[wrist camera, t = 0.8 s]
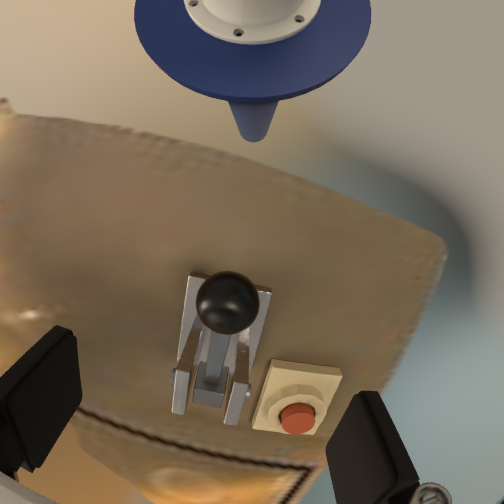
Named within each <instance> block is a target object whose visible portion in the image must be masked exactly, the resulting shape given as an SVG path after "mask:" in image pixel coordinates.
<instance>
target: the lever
mask: <svg viewBox="0 0 504 504" xmlns="http://www.w3.org/2000/svg"><path fill="white" fill-rule="evenodd" d="M259 307H260V299H259V294H258V292H257V289H256V287H255V286H254V284H253V283H252V282H251V281H250V280H249V279H248V278H247V277H245V276H244V275H242V274H240V273H237V272H233V271H223V272H218V273H215V274H213V275H211V276H210V277H208V278H207V279H206V280H205V281H204V282H203V283H202V285H201V286H200V288H199V290H198V292H197V296H196V310H197V313H198V316H199V318H200V319H201V321H202V322H203V324H204V325H205V326H206V327H208V328H209V329H210V330H212V331H211V337H210V343H209V349H208V355H207V362H203V361H200V363H199V368H198V372H197V377H196V381H195V386H194V393H193V402H194V403H199V404H203V405H208V406H213V407H218V408H221V405H222V402H223V399H224V396H225V390H226V384H227V378H228V372H229V367H227V366H224V362H225V358H226V354H227V350H228V346H229V342H230V338H231V335H232V334H237V333H240V332H242V331H244V330H246V329H247V328H248V327H249V326H251V324H252V323H253V322H254V321H255V319H256V317H257V315H258V312H259Z"/></svg>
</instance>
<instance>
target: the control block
mask: <svg viewBox="0 0 504 504" xmlns="http://www.w3.org/2000/svg"><path fill="white" fill-rule="evenodd" d="M342 377H343V376H342V373H341V371H340V368H336V367H327V366H319V365H311V364H304V363H297V362H290V361H284V360H277V359H272V360H271V363H270V367H269V370H268V373H267V376H266V379H265V382H264V385H263V389H262V392H261V395H260V398H259V401H258V404H257V407H256V410H255V413H254V416H253V419H252V429H259V430H267V431H275V432H281V433H286V434H290V433H287V432H286V431H284V429H283V428H282V422H281V412H282V410H283V409H284V408H285V407H286V406H288V405H290V404H293V403H306V404H308V405H310V406H311V407H312V409H313V413H314V417H315V425H314V426H313V428H312V429H311V430H309V431H308V432H305V433H302V434H310V435H314V434H315V432H316V430H317V428H318V426H319V424H321V423H322V421H323V420H324V418H325V416H326V414H327V408H328V406H329V404H330V402H331V400H332V398H333V396H334V394H335V392H336V390H337V388H338V385H339V383H340V381H341V379H342Z"/></svg>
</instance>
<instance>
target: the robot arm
mask: <svg viewBox="0 0 504 504" xmlns="http://www.w3.org/2000/svg"><path fill="white" fill-rule="evenodd" d="M184 3H185V6H186V9H187V11H188V13H189V15H190V17H191V18H192V20H193V21H194V22H195V24H196V25H197V26H199V27H200V28H201V29H202V30H203V31H205V32H206V33H208V34H210V35H212V36H214V37H216V38H218V39H221V40H224V41H227V42H232V43H237V44H248V45H258V44H269V43H273V42H277V41H281V40H284V39H286V38H289V37H291V36H294V35H295V34H297V33H298V32H300V31H302V30H303V29H304V28H305V27H306V26H308V25H309V24H310V23H311V21H312V20H313V18H314V17H315V16H316V14H317V11H318V9H319V7H320V3H321V0H184ZM193 6H194V7H193ZM296 21H299V22H301V23H298V22H296ZM238 34H240V35H242V36H238V37H237V35H238ZM81 400H82V388H81V380H80V371H79V361H78V350H77V339H76V337H75V336H73V332H72V331H71V330H69V329H66V328H64V327H61V326H58V325H56V326H54V327H53V328H52V329H51V330H50V331H49V332H48V333H46V334H45V335H44V336H43V337H42V338H41V339H40V340H39V341H38V342H37V343H36V344H35V345H33V346H32V347H31V348H30V349H29V350H28V351H27V352H26V353H25V354H24V355H23V356H22V357H21V358H20V359H19V360H18V361H17V362H16V363H15V364H14V365H13V366H12V367H11V368H10V369H9V370H8V371H6V372H5V373H4V374H3V375H2V376H1V377H0V504H59V503H57V502H55V501H53V500H51V499H49V498H47V497H45V496H43V495H41V494H39V493H37V492H35V491H33V490H31V489H29V488H27V487H25V486H24V485H22V484H20V483H19V479H18V475H17V471H18V469H19V468H20V467H22V468H24V469H26V470H27V471H29V472H31V473H33V471H34V470H35V468H36V467H37V468H40V467H41V465H42V464H43V462H44V461H45V459H46V457H47V456H48V454H49V452H50V451H51V449H52V447H53V446H54V444H55V443H56V441H57V439H58V438H59V436H60V434H61V433H62V431H63V430H64V428H65V426H66V425H67V423H68V422H69V420H70V419H71V417H72V415H73V414H74V412H75V411H76V409H77V408H78V406H79V405H80V403H81ZM326 457H327V461H328V466H329V470H330V475H331V480H332V484H333V489H334V493H335V498H336V503H337V504H452V498H451V495H450V493H449V492H448V490H447V489H446V488H444V487H443V486H441V485H440V484H437V483H433V482H431V483H430V482H427V483H424V484H422V485H420V483H419V481H418V480H419V477H418V475H417V472H416V470H415V468H414V466H413V463H412V461H411V459H410V457H409V455H408V453H407V450H406V448H405V446H404V444H403V442H402V440H401V438H400V436H399V433H398V431H397V430H396V427H395V425H394V423H393V421H392V419H391V417H390V415H389V413H388V411H387V409H386V407H385V405H384V403H383V401H382V399H381V397H380V395H379V393H378V392H377V391H360V392H359V393H358V394H355V395H354V396H353V398H352V400H351V402H350V404H349V406H348V408H347V409H346V411H345V413H344V415H343V417H342V419H341V421H340V422H339V424H338V426H337V428H336V429H335V431H334V433H333V435H332V436H331V438H330V440H329V442H328V443H327V446H326Z"/></svg>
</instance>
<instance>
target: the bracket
mask: <svg viewBox="0 0 504 504" xmlns="http://www.w3.org/2000/svg"><path fill="white" fill-rule="evenodd" d="M208 277H210V276H208V275H203V274H199V273H194V272H191V273H190V275H189V278H188V284H187V290H186V297H185V304H184V311H183V318H182V325H181V332H180V340H179V348H178V356H177V361H179V363H178V366H177V368H173V370H172V373H171V378H170V385H171V386H174V391H173V401H172V413H176V414H180V415H184V414H185V410H186V407H187V403H188V399H189V395H190V391H191V388H192V384H193V380H194V376H195V373H196V369H197V365H198V366H199V363H200V361H203V362H207V355H208V349H209V343H210V337H211V331H212V330H210V329H209V328H208V327H206V326H205V325H204V324H203V322H202V321H201V319H200V318H199V316H198V313H197V310H196V296H197V292H198V290H199V288H200V286H201V285H202V283H203V282H204V281H205V280H206V279H207V278H208ZM254 286H255V285H254ZM255 287H256V289H257V292H258V294H259V299H260V307H259V312H258V315H257V317H256V319H255V321H254V322H253V323H252V324H251V326H249V327H248V328H247V329H246V330H244V331H242V332H240V333H237V334H232V335H231V338H230V342H229V346H228V350H227V354H226V358H225V362H224V366H227V367H229V380H228V388H227V397H226V406H225V415H224V424H229V425H235V426H236V425H237V423H238V419H239V416H240V413H241V409H242V406H243V402H244V401H248V400H249V397H250V393H251V384H249V375H250V373H251V370H252V366H253V362H254V359H255V355H256V352H257V348H258V344H259V341H260V337H261V333H262V330H263V326H264V322H265V318H266V315H267V311H268V307H269V303H270V299H271V296H272V290H271V289H270V288H265V287H260V286H255Z"/></svg>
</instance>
